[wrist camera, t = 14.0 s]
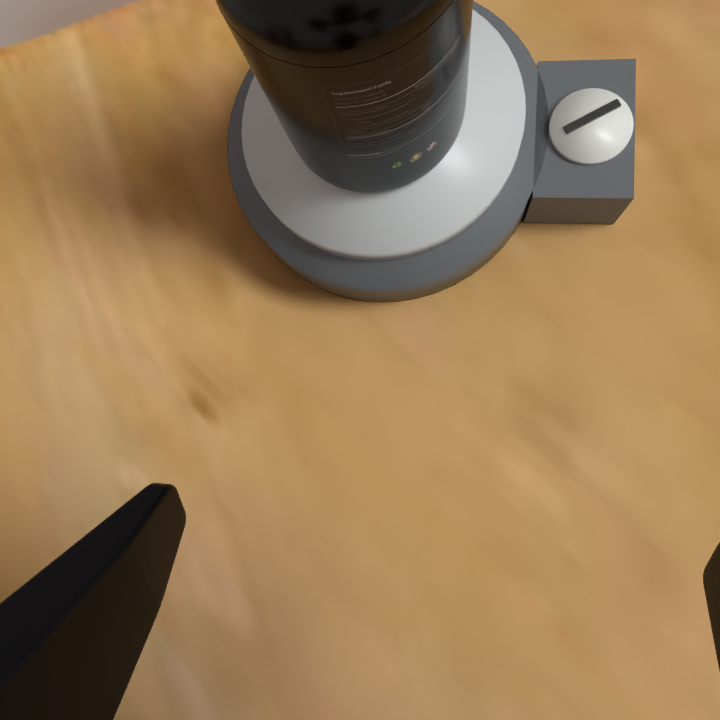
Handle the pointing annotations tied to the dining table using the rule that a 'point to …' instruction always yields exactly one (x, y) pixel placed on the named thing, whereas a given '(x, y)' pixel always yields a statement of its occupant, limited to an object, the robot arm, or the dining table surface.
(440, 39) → the supplement bottle
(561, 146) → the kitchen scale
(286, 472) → the dining table surface
